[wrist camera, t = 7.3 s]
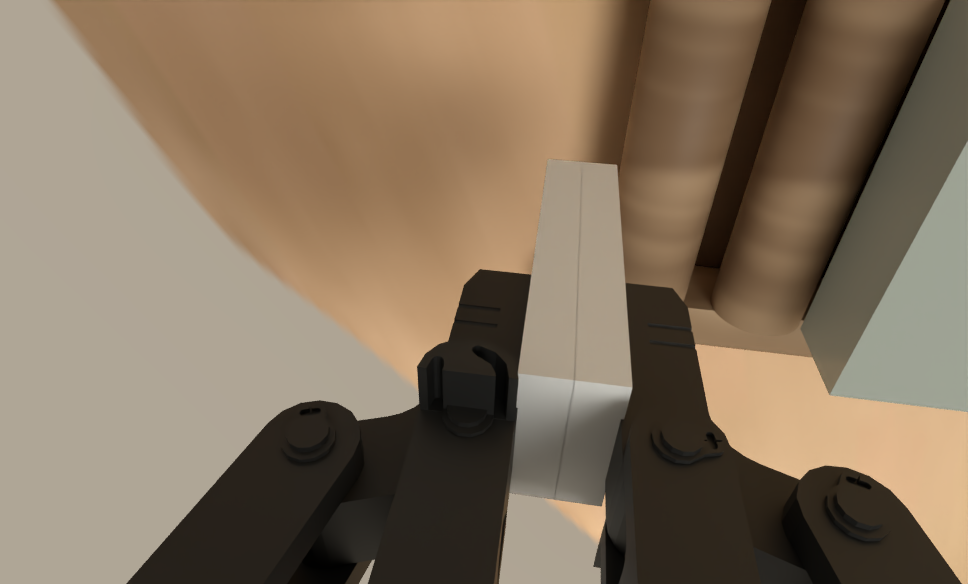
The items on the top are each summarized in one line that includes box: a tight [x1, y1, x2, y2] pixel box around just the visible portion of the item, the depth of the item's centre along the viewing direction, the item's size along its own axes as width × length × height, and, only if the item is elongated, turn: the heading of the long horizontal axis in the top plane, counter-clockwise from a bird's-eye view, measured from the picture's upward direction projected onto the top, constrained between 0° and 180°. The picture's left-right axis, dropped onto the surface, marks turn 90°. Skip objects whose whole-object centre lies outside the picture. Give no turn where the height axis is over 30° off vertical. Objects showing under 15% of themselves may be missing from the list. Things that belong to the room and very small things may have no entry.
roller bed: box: [618, 0, 945, 357], centre depth 18 cm, size 14×22×4 cm, turn 88°
